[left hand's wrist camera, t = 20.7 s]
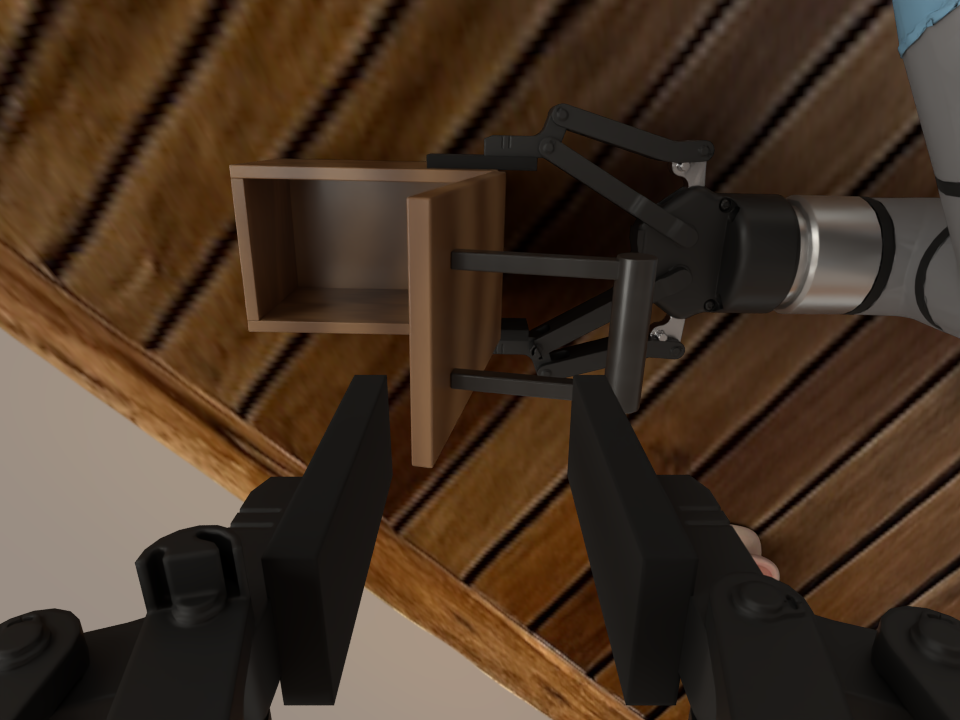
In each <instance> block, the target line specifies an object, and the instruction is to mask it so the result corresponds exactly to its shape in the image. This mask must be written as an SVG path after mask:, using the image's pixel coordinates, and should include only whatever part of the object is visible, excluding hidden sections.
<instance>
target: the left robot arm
mask: <svg viewBox="0 0 960 720" xmlns="http://www.w3.org/2000/svg"><path fill="white" fill-rule="evenodd" d="M392 475H393V474H392V457H391V440H390V424H389V407H388V390H387V375H355V376H354V377H353V379H352V381H351V383H350V385H349V387H348V389H347V391H346V393H345V395H344V397H343V399H342V401H341V403H340V405H339V407H338V409H337V411H336V413H335V415H334V417H333V419H332V420H331V422H330V424H329V426H328V428H327V430H326V432H325V434H324V436H323V438H322V440H321V442H320V444H319V446H318V448H317V450H316V452H315V454H314V456H313V458H312V460H311V462H310V463H309V465H308V467H307V469H306V471H305V473H304V475H303V477H270V478H269V479H267V480H266V481H265V482H263V483H262V484H261V485H259V486H258V487H257V488H255V489H254V490H253V491H251V492H250V494H249V496H248V497H247V499H246V500H245V502H244V503H243V505H242V507H241V508H240V513H237V515H236V516H235V518H234V519H233V521H232V522H231V527H229V528H226V527H222V526H219V525H199V526H195V527H191V528H186V529H182V530H178V531H176V532H174V533H172V534H169V535H167V536H165V537H162V538H160V539H159V540H158V541H156V542H155V543H153V544H152V545H150V546H149V547H148V548H146V549H145V550H144V551H143V553H142V554H141V555H140V556H139V558H138V559H137V560H136V562H135V565H136V569H137V573H138V577H139V581H140V585H141V589H142V593H143V597H144V601H145V605H146V609H147V614H146V617H145V618H142V619H138V620H135V621H132V622H128V623H124V624H120V625H115V626H111V627H107V628H103V629H98V630H94V631H90V632H85V633H83V630H82V626H81V623H80V620H79V619H78V618H77V617H76V616H75V615H74V614H73V613H72V612H71V611H66V610H61V609H55V608H54V609H46V610H37V611H32V612H29V613H26V614H23V615H20V616H17V617H14V618H11V619H9V620H7V621H5V622H3V623H1V624H0V720H272V719H271V713H270V706H271V703H272V700H273V697H274V695H275V692H276V689H277V686H278V684H279V681H280V682H281V689H282V695H283V701H284V705H334V703H335V699H336V695H337V691H338V687H339V683H340V680H341V676H342V672H343V668H344V664H345V660H346V656H347V652H348V648H349V644H350V640H351V636H352V632H353V628H354V624H355V620H356V617H357V613H358V609H359V605H360V601H361V597H362V593H363V589H364V585H365V581H366V577H367V573H368V569H369V565H370V561H371V558H372V554H373V550H374V546H375V542H376V538H377V534H378V530H379V526H380V522H381V518H382V514H383V510H384V506H385V502H386V498H387V495H388V491H389V487H390V483H391V479H392ZM567 475H568V479H569V483H570V487H571V491H572V495H573V498H574V502H575V506H576V510H577V514H578V518H579V522H580V526H581V530H582V534H583V538H584V542H585V546H586V550H587V554H588V558H589V561H590V565H591V569H592V573H593V577H594V581H595V585H596V589H597V593H598V597H599V601H600V605H601V609H602V613H603V617H604V621H605V624H606V628H607V632H608V636H609V640H610V644H611V648H612V652H613V656H614V660H615V664H616V668H617V672H618V676H619V680H620V684H621V688H622V691H623V695H624V699H625V703H626V705H676V702H677V695H678V689H679V683H680V678H681V681H682V683H683V686H684V689H685V692H686V694H687V697H688V700H689V703H690V705H691V707H690V713H689V719H688V720H960V621H959V620H957V619H955V618H953V617H951V616H949V615H946V614H943V613H940V612H937V611H934V610H931V609H928V608H920V607H912V606H903V607H897V608H892V609H889V610H888V611H887V612H886V613H885V614H884V615H883V616H882V617H881V620H880V623H879V626H878V630H873V629H869V628H864V627H860V626H856V625H851V624H847V623H843V622H838V621H834V620H830V619H827V618H824V617H820V616H817V615H814V613H813V611H812V610H811V608H810V607H809V605H808V604H807V602H806V600H805V599H804V598H803V597H802V596H801V595H800V594H798V593H797V592H796V591H795V590H794V589H792V588H791V587H790V586H789V585H786V584H784V583H782V582H780V581H778V580H776V579H774V578H772V577H770V576H766V575H763V573H762V572H761V570H760V568H759V567H758V565H757V564H756V562H755V561H754V559H753V557H752V556H751V554H750V553H749V551H748V550H747V548H746V546H745V545H744V543H743V542H742V540H741V539H740V537H739V535H738V534H737V532H736V531H735V529H734V528H733V526H732V525H730V521H729V520H728V518H727V517H726V515H725V514H724V512H723V511H721V509H720V506H719V504H718V503H717V501H716V499H715V498H714V496H713V495H712V493H711V492H710V490H709V489H708V488H706V487H705V486H703V485H702V484H701V483H699V482H698V481H697V480H695V479H694V478H693V477H691V476H690V475H656V473H655V471H654V469H653V467H652V465H651V463H650V462H649V460H648V458H647V456H646V454H645V452H644V450H643V448H642V446H641V444H640V442H639V440H638V438H637V436H636V434H635V432H634V430H633V428H632V426H631V424H630V422H629V420H628V419H627V417H626V415H625V413H624V411H623V409H622V407H621V405H620V403H619V401H618V399H617V397H616V395H615V393H614V391H613V389H612V387H611V385H610V383H609V381H608V379H607V377H606V376H605V375H573V390H572V407H571V424H570V440H569V457H568V474H567Z"/></svg>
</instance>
